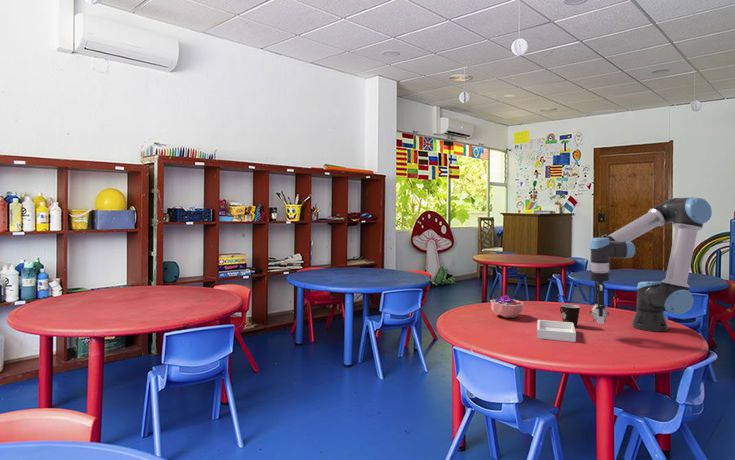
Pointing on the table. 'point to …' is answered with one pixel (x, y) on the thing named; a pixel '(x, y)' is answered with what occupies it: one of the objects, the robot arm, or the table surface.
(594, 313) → the game die
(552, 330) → the sorting tray
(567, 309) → the coffee mug
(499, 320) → the table surface
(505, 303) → the cell model
